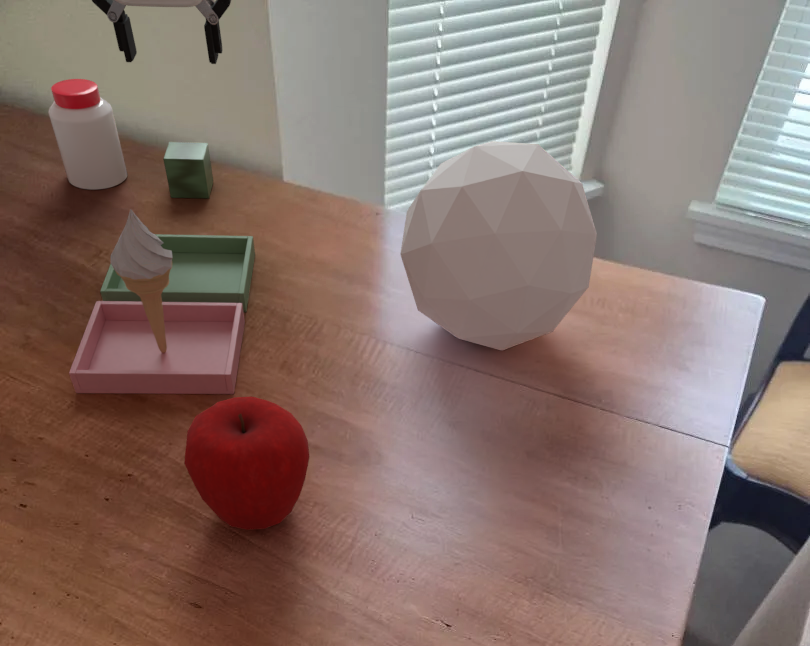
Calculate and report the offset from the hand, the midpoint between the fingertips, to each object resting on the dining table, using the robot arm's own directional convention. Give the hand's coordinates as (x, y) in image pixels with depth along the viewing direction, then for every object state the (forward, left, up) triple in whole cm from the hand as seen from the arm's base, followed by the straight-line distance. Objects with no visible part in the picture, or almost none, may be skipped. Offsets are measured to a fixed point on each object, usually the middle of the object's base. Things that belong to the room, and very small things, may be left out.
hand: (173, 59), depth 89 cm
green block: (0, 0, -15) cm, 15 cm away
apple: (+13, -58, -16) cm, 61 cm away
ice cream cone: (+2, -37, -15) cm, 40 cm away
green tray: (+2, -23, -15) cm, 27 cm away
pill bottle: (-13, +3, -16) cm, 21 cm away
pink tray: (+2, -37, -15) cm, 40 cm away
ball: (+36, -31, -16) cm, 50 cm away
